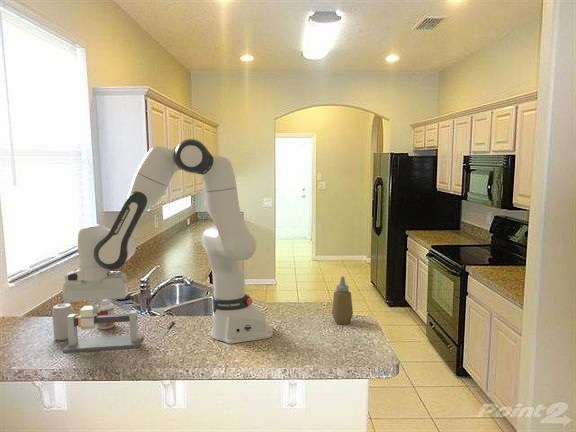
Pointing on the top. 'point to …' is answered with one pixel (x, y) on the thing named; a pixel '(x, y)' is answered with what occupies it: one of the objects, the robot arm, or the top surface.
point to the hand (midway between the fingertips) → (97, 312)
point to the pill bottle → (106, 313)
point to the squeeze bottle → (342, 303)
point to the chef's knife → (164, 331)
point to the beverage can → (61, 320)
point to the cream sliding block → (87, 318)
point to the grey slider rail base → (103, 342)
